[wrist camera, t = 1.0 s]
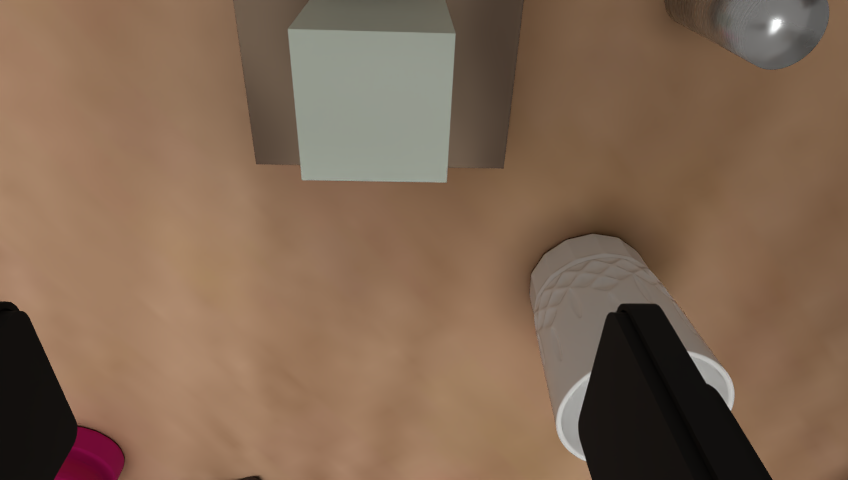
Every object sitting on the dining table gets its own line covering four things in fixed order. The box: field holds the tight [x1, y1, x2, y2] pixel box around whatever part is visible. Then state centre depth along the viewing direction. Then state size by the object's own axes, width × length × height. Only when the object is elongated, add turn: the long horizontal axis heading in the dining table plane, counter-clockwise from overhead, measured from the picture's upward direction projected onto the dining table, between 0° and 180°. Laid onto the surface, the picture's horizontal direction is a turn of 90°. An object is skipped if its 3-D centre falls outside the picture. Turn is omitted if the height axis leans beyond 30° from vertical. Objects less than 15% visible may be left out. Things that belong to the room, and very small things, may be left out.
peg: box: [665, 0, 829, 70], centre depth 22 cm, size 3×3×7 cm
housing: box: [288, 0, 456, 182], centre depth 22 cm, size 5×5×6 cm
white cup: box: [529, 234, 734, 461], centre depth 30 cm, size 8×8×10 cm
